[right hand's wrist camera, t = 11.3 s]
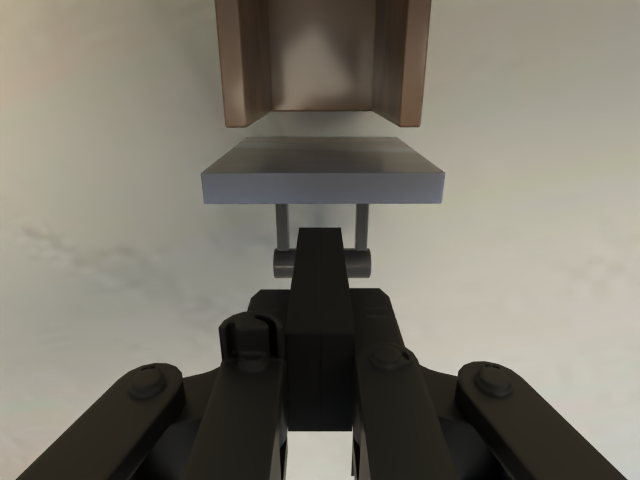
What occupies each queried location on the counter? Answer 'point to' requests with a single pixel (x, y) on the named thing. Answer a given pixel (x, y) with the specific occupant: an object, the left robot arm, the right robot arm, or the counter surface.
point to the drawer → (322, 109)
